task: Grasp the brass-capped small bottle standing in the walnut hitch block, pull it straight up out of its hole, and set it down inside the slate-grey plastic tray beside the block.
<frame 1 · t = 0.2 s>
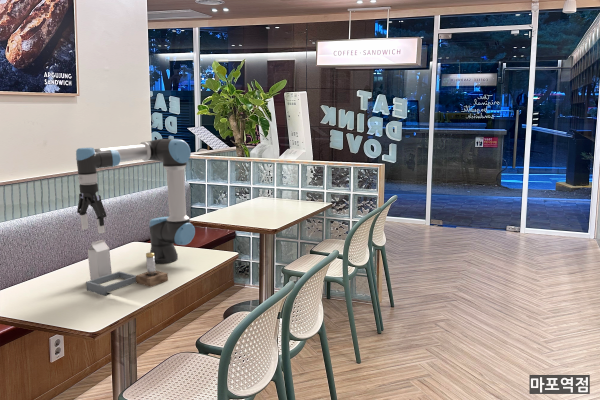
hand: (93, 231, 240), 28 cm above the table, fingers open, 13 cm apart
hitch block: (152, 284, 252), on the table
small bottle: (152, 281, 251), point 1 cm above the table, touching hitch block
tray: (113, 287, 250), on the table
milk carton: (101, 279, 262), on the table
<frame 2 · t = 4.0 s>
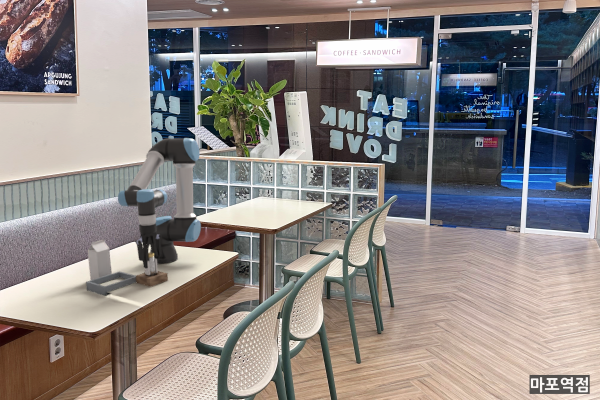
hand: (151, 273, 251), 6 cm above the table, fingers closed on small bottle, 3 cm apart
small bottle: (152, 281, 251), point 2 cm above the table, touching gripper, hitch block
everything else where it was.
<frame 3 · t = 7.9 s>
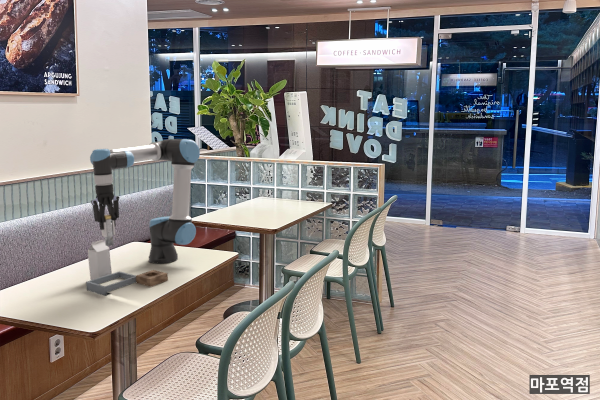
hand: (108, 235, 245), 25 cm above the table, fingers closed on small bottle, 3 cm apart
small bottle: (109, 244, 246), point 20 cm above the table, touching gripper
everything else where it was.
when the fingers open (8 cm above the table, at t = 11.7 s): small bottle drops 2 cm, resting on tray.
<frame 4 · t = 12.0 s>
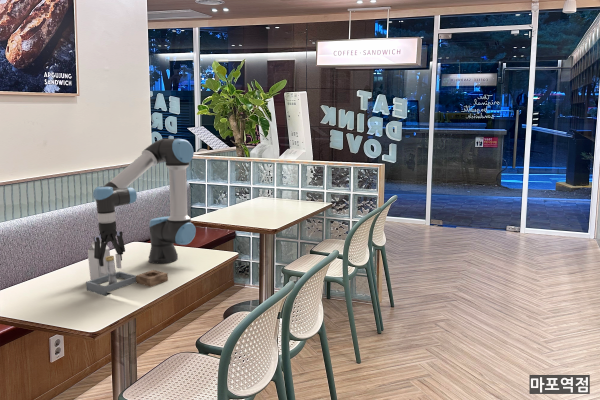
hand: (111, 270, 248), 8 cm above the table, fingers open, 7 cm apart
small bottle: (113, 285, 249), point 1 cm above the table, touching tray
everything else where it was.
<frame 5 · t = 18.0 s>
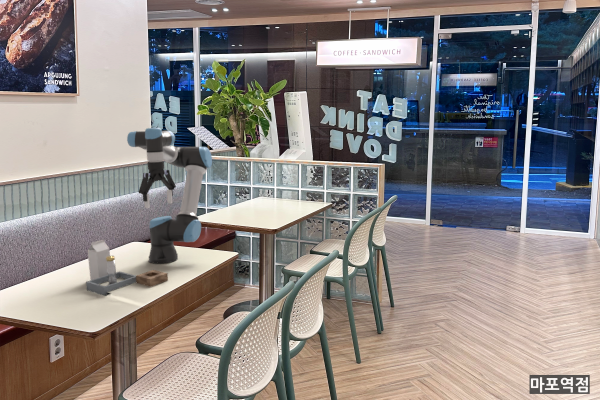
hand: (159, 205, 258), 35 cm above the table, fingers open, 13 cm apart
nothing on the table moved.
at the end: small bottle inside the target area on the tray (0.1 cm from its centre), point 1.0 cm above the tray's base; the gripper is holding nothing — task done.
